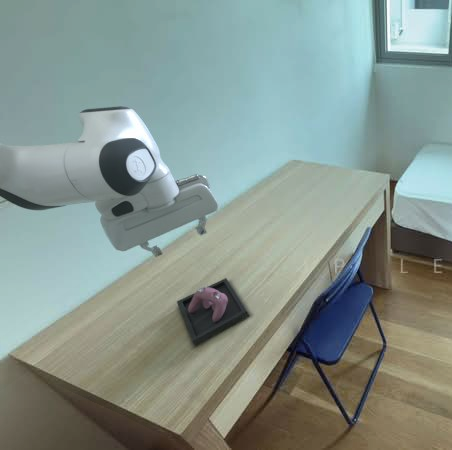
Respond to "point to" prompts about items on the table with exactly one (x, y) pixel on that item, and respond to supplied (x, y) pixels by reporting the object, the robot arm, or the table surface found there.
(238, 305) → the black rectangular tray
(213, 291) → the video game controller
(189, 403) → the table surface
